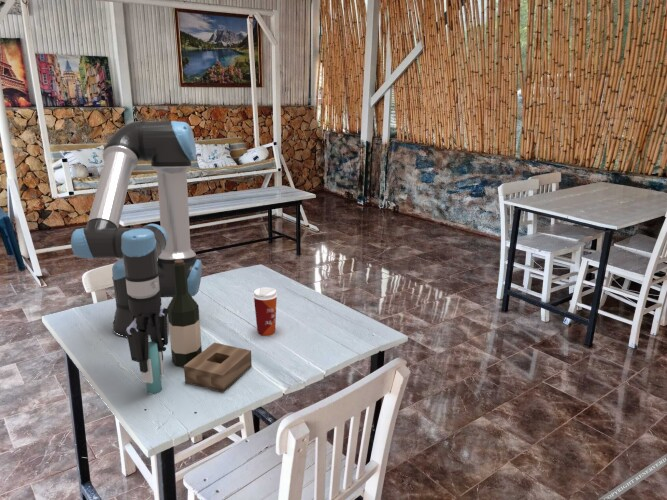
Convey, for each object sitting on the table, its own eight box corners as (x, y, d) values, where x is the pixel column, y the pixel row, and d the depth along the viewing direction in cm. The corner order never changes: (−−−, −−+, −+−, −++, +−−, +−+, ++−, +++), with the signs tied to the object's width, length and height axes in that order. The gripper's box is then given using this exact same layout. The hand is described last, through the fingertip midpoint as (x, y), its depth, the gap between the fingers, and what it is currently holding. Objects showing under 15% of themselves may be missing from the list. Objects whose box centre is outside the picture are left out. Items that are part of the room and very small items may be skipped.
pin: (144, 392, 135) (138, 347, 131) (153, 384, 138) (148, 340, 134) (155, 395, 134) (150, 349, 129) (164, 387, 137) (160, 343, 133)
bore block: (185, 382, 139) (183, 365, 138) (215, 357, 152) (214, 342, 150) (223, 392, 135) (222, 375, 133) (251, 366, 147) (251, 350, 146)
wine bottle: (186, 370, 145) (177, 268, 136) (165, 362, 149) (156, 262, 140) (208, 357, 152) (201, 259, 142) (188, 350, 156) (180, 254, 146)
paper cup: (274, 338, 163) (273, 297, 159) (250, 336, 165) (249, 294, 160) (281, 327, 170) (280, 287, 166) (259, 325, 172) (257, 285, 168)
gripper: (132, 308, 119) (142, 397, 126) (178, 283, 133) (185, 365, 140) (106, 303, 121) (118, 391, 129) (154, 279, 136) (162, 359, 143)
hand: (153, 377), depth 135 cm, fingers closed on pin, 3 cm apart
